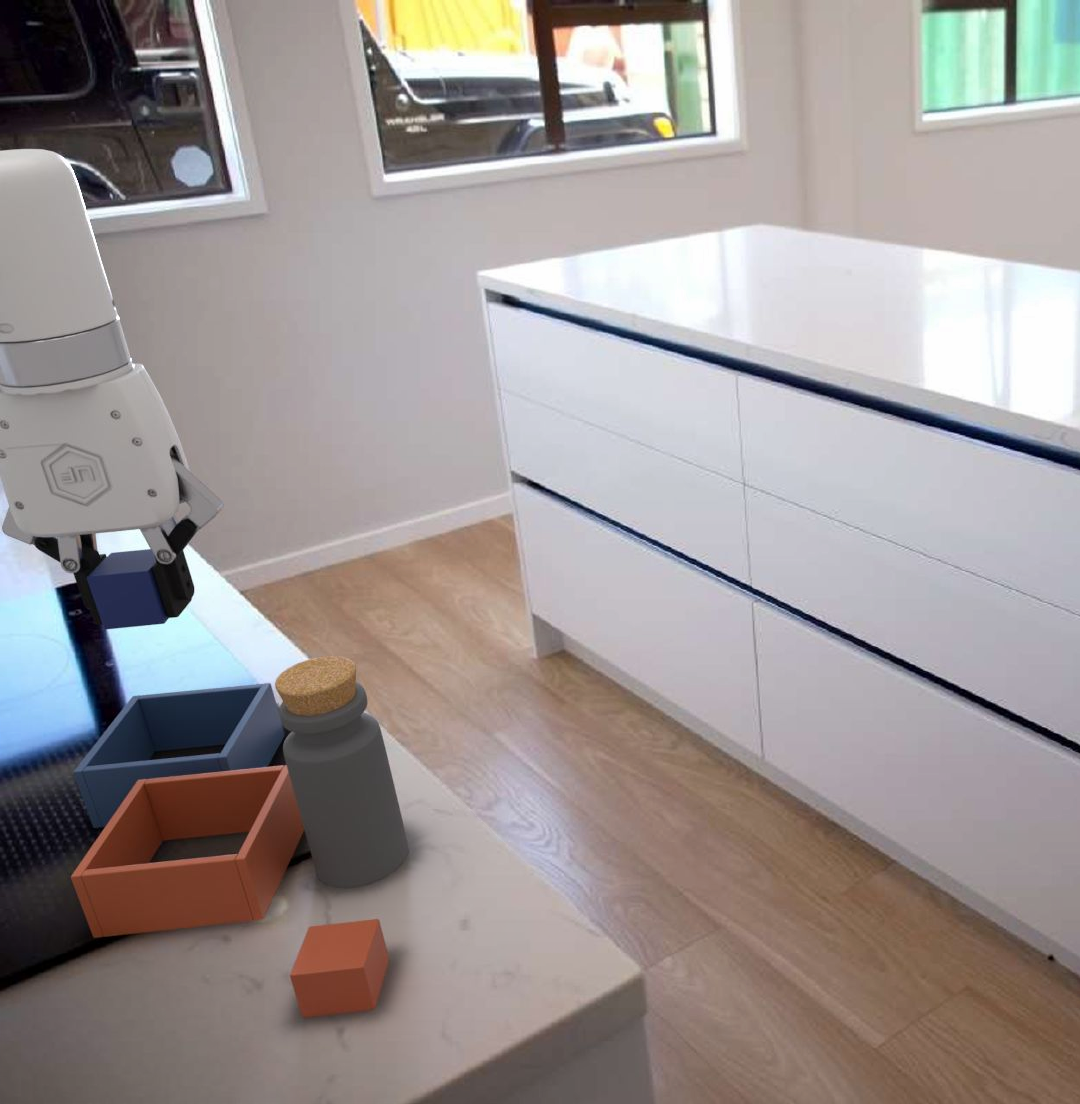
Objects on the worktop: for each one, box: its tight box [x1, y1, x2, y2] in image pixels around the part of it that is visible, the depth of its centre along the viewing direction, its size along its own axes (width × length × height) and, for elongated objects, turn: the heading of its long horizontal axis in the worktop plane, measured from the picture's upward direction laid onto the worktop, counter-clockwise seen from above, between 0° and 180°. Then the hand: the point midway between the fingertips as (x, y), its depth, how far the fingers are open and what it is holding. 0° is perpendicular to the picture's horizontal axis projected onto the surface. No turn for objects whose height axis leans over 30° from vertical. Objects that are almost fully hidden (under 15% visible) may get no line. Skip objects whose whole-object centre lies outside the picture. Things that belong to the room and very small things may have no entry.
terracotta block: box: [289, 918, 390, 1018], centre depth 72 cm, size 4×4×4 cm
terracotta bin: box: [70, 764, 305, 939], centre depth 81 cm, size 10×10×6 cm
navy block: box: [87, 548, 170, 630], centre depth 86 cm, size 4×4×4 cm
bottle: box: [274, 655, 410, 889], centre depth 80 cm, size 6×6×15 cm
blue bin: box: [73, 682, 286, 829], centre depth 92 cm, size 10×10×6 cm
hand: (144, 609), depth 87 cm, fingers closed on navy block, 4 cm apart
